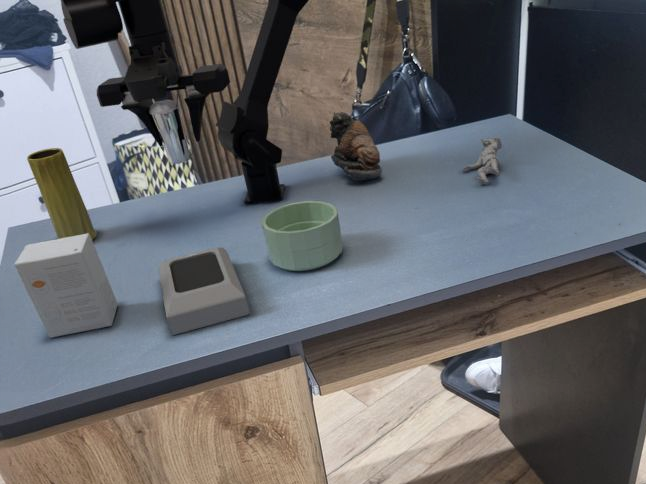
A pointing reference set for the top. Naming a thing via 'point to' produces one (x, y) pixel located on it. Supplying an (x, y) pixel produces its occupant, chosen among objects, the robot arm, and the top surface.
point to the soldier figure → (487, 160)
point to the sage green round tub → (302, 235)
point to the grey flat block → (201, 290)
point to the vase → (60, 193)
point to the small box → (67, 285)
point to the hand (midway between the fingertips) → (179, 143)
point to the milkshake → (170, 130)
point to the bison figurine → (354, 148)
